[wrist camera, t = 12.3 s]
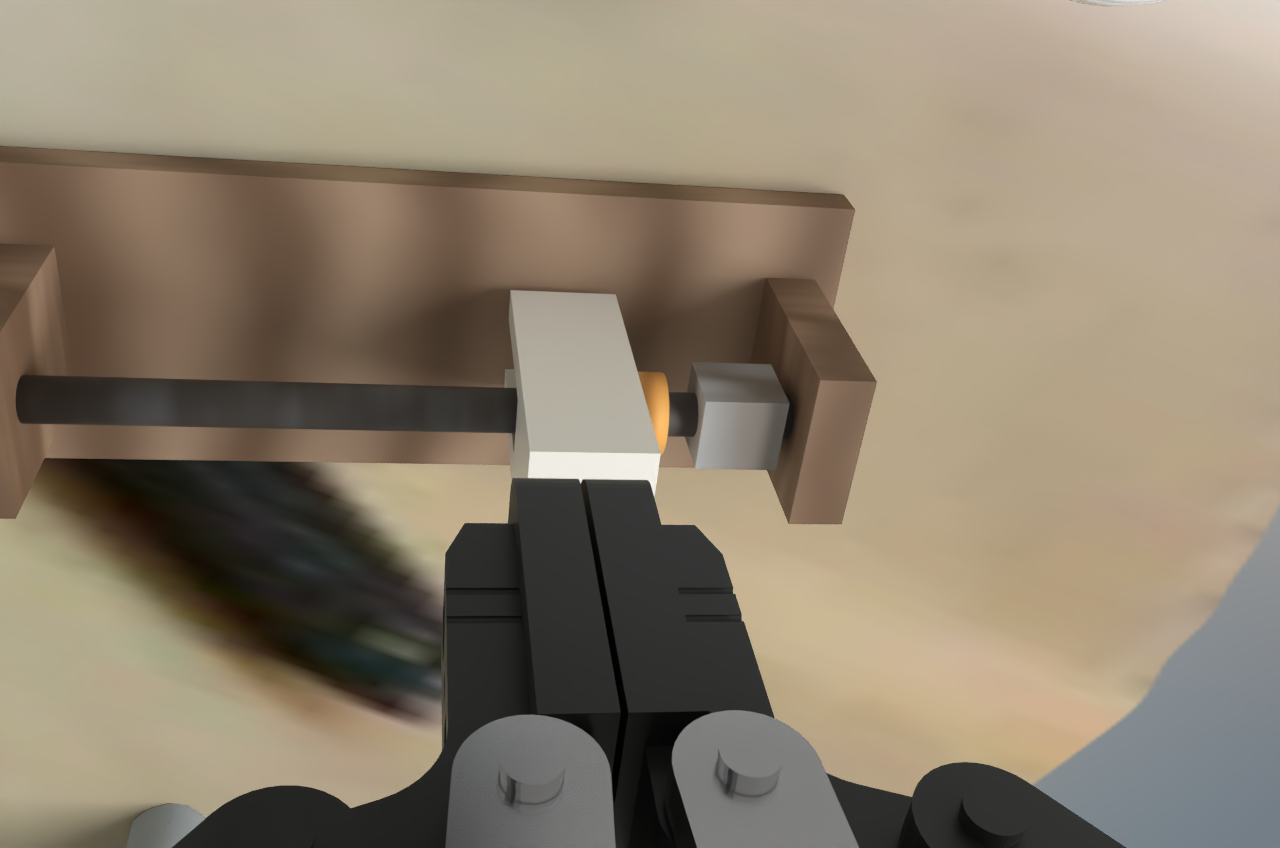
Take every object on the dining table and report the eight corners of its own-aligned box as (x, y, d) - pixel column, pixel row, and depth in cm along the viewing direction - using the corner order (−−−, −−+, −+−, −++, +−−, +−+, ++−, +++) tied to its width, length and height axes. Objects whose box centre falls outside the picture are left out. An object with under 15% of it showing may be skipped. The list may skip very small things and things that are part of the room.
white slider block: (503, 395, 48) (520, 571, 39) (510, 290, 46) (530, 451, 37) (603, 398, 49) (643, 571, 40) (615, 294, 47) (660, 453, 37)
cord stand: (13, 436, 49) (-69, 591, 41) (-39, 143, 42) (-148, 259, 34) (789, 450, 54) (850, 588, 46) (843, 194, 48) (925, 303, 40)
